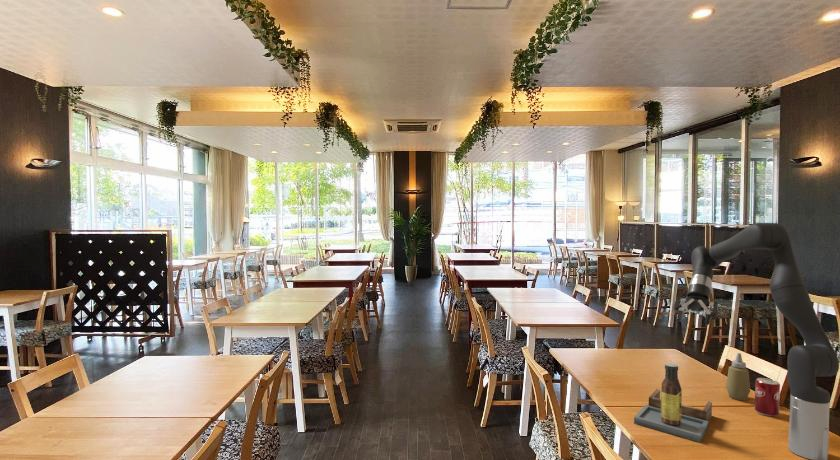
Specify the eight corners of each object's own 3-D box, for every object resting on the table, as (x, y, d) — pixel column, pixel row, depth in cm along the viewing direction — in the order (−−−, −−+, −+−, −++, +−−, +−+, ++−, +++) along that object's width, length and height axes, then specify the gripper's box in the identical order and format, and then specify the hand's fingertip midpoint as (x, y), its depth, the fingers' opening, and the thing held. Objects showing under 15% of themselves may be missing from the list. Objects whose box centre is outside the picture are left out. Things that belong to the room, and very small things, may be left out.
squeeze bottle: (720, 395, 186) (722, 351, 185) (733, 392, 189) (734, 349, 188) (742, 403, 178) (743, 357, 178) (754, 399, 182) (756, 355, 181)
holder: (711, 415, 166) (712, 402, 166) (705, 426, 158) (706, 411, 158) (656, 401, 179) (656, 389, 178) (648, 410, 170) (648, 397, 170)
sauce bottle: (683, 427, 154) (685, 369, 154) (663, 425, 155) (665, 367, 155) (677, 419, 161) (678, 363, 160) (657, 417, 162) (659, 361, 161)
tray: (708, 427, 157) (708, 421, 157) (700, 442, 146) (700, 435, 146) (645, 410, 170) (645, 404, 170) (633, 423, 159) (634, 417, 159)
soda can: (756, 414, 168) (757, 382, 168) (752, 407, 174) (753, 376, 174) (781, 418, 165) (782, 385, 164) (776, 411, 171) (777, 379, 171)
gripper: (678, 280, 182) (670, 313, 174) (720, 284, 173) (714, 319, 165) (680, 292, 186) (673, 325, 178) (722, 297, 177) (716, 331, 169)
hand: (692, 322), depth 171 cm, fingers open, 8 cm apart
